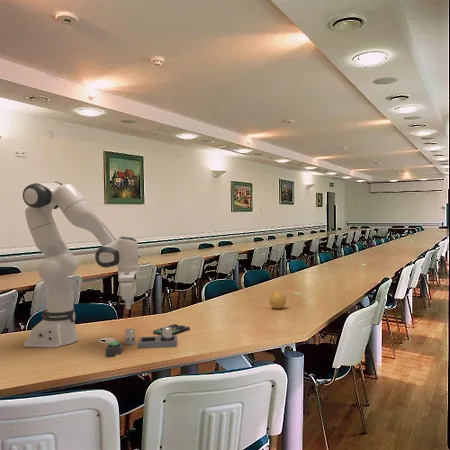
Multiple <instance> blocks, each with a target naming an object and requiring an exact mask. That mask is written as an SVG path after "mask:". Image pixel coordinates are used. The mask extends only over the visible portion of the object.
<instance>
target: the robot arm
mask: <svg viewBox="0 0 450 450" xmlns="http://www.w3.org/2000/svg"><path fill="white" fill-rule="evenodd" d="M22 200H23V202H24V203H25V204H26V205H27V207H26V209H25V211H24V214H25V219H26V223H27V226H28V230H29V232H30V235H31V238H32V239H33V242H34V244H35V246H36V249H38V250H39V251H40V252H41V253H42V254H43V255H44V258H45V259H44V260H42V261H41V262H40V264H39V266H38V269H37V271H38V276H39V277H40V279H42V282H43V284H44V288H45V292H46V294H45V295H46V308H47V309H46V310H44V312H43V313H42V315H41V317H42V320H41V321H40V322H38V323H37V324H36V325H35V326H34V327H32V328H31V330H30V332H29V336H28V337H29V338H27V339H26V340H25V341H24V343H23V347H24V348H59V347H62V346H66V345H71V344H73V343H75V342H78V340H79V337H78V334H77V331H76V329H77V328H76V323H75V321H76V312H75V310H76V309H75V307H74V291H73V289H72V288H71V285H70V279H69V277H71V276H73V275H74V274H75V273H76V271H77V270H78V268H79V261H78V258H77V257H76V256H75V255H73V253H72V252H71V250H70V249H69V247H68V246H67V244H66V243H65V241H64V240H63V238H62V236H61V234H60V231H59V229H58V226H57V224H56V222H55V220H54V216H53V214H52V212H53V210H57V209H58V208H59V209H60V210H61V212H62V214H63V215H64V216H65V219H66V220H68V222H69V223H70V224H72V225H73V226H74V227H77V228H80V229H83V230H86V231H88V232H90V233H91V234H92V235H94V237H95V238H96V239H97V240H98V242H99V243H100V244H101V247H99V248H97V250H96V252H95V255H94V257H95V262H96V264H97V265H98V266H99V267H100V268H101V267H102V268H105V269H106V268H107V269H108V268H111V267H112V268H113V267H117V271H118V272H117V274H118V275H117V276H118V278H117V281H118V283H119V287H120V288H119V289H120V296H121V300H123V301H124V303H125V308H126V309H125V310H131V308H132V306H131V305H134V299H135V294H136V293H137V281H138V279H140V265H139V257H140V255H139V247H138V246H139V245H138V242H137V240H136V239H135V238H134V237H130V236H120V237H118V238H115V237H114V236H113V234H112V232H111V231H110V230H109V229H108V228H107V226H106V225H105V224H104V222H103V221H102V220H101V219H100V217H99V215H97V214H96V212H95V211H94V210H93V208H92V206H90V204H89V202H88V200H87V199H86V198H85V197H84V195H83V194H82V192H80V191H79V190H78V189H77V187H76V186H74V185H73V184H71V183H61V182H58V181H43V182H37V183H31V184H29V185H27V186H26V187H24V189H23V191H22Z"/></svg>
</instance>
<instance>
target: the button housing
mask: <svg viewBox="0 0 450 450" xmlns="http://www.w3.org/2000/svg"><path fill="white" fill-rule="evenodd" d="M123 350H124V342H119V345H118V346H115V347H112V346H110V342H109V343H107V345H106V347H105V357H106V358H107V357H108V358H110V357H116V355H122V353H123Z"/></svg>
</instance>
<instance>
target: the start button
mask: <svg viewBox="0 0 450 450" xmlns="http://www.w3.org/2000/svg"><path fill="white" fill-rule="evenodd" d="M109 343H110V346H112V347H115V346H118V345H119V343H120V341H118V340H112V341H110V342H109Z"/></svg>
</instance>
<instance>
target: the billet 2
mask: <svg viewBox="0 0 450 450" xmlns="http://www.w3.org/2000/svg"><path fill="white" fill-rule="evenodd" d="M169 326H170V325H167V326H163V327H161V328H162V329H163V341H172V327H169Z"/></svg>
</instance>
